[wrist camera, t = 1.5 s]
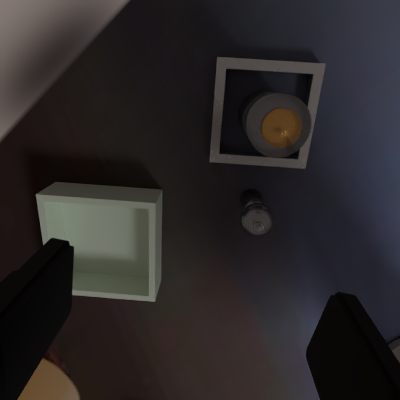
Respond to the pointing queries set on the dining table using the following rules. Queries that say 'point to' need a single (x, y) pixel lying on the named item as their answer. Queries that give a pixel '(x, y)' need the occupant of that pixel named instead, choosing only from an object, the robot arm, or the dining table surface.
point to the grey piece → (251, 199)
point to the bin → (107, 237)
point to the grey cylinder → (275, 122)
